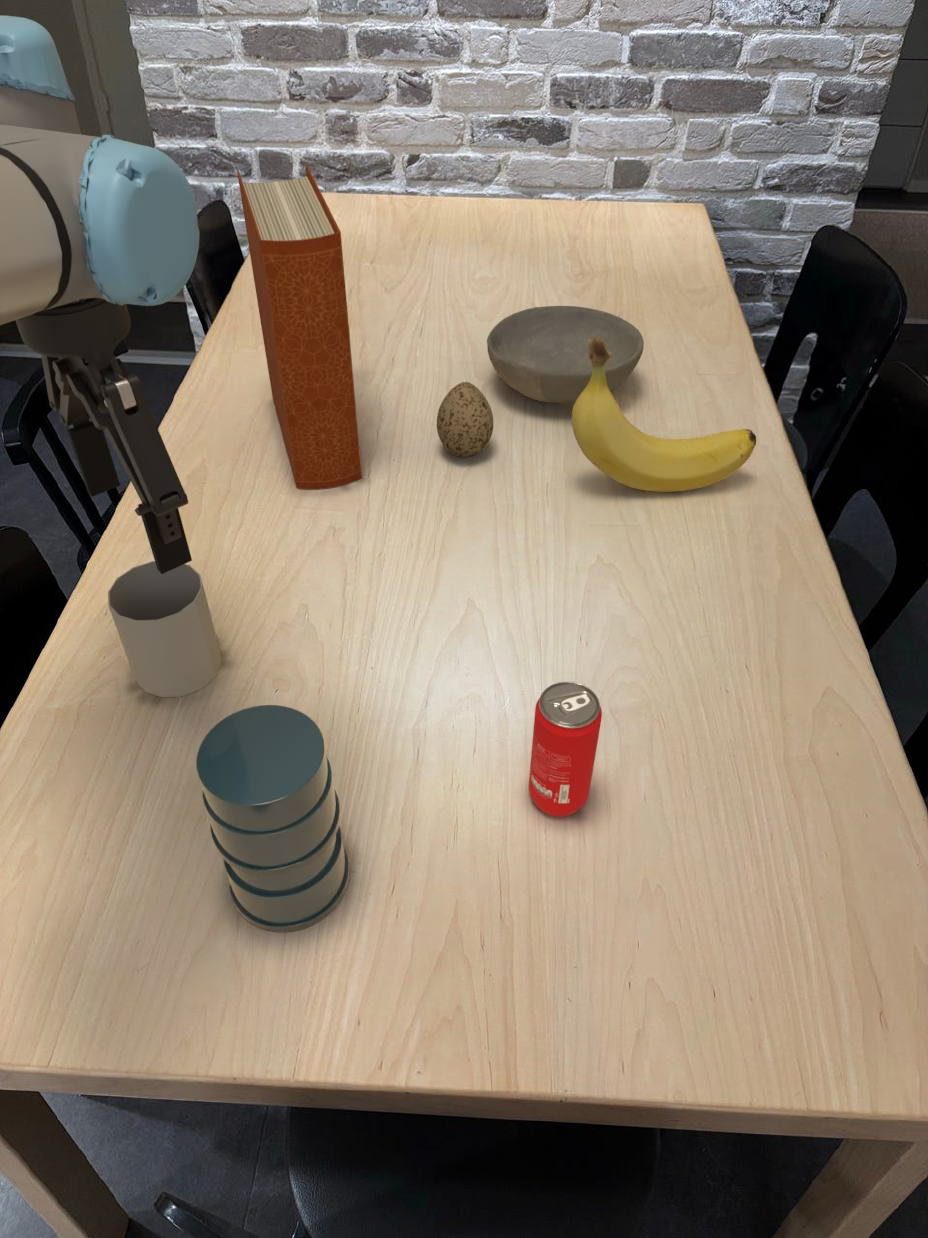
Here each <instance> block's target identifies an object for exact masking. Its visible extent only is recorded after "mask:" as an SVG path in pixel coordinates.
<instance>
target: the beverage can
mask: <svg viewBox="0 0 928 1238" xmlns="http://www.w3.org/2000/svg"><path fill="white" fill-rule="evenodd" d="M602 718H603V710H602V707H601V703H600V700H599V698H598V696H597V694H596V693H595V692H594V691H593V690H592V689H590V688H589V686H586V685H584V684H582V683H579V682H575V681H561V682H559V681H558V682H556V683H553V684H551V685H549V686H548V687H546V688H545V689H544V690H543V691H542V693H541V694H540V697H539V698H538V700H537V701H536V704H535V708H534V718H533V719H534V720H533V731H532V743H531V744H532V745H531V753H530V766H529V767H530V768H529V776H528V777H529V778H528V791H529V795H530V797H531V799H532V800H533V802H534V804H535V806H536V807H537V809H539V810H540V811H541V812H542V813H544V814H546V815H548V816H551V817H555V818H564V817H568V816H572V815H573V814H575V813H576V812H578V811H579V810H580V809H581V808H582V807H583V806H584V805H585V804H586V802H587V801H588V798H589V796H590V792H591V791H590V790H591V783H592V778H593V773H594V767H595V760H596V754H597V749H598V742H599V736H600V730H601V723H602Z"/></svg>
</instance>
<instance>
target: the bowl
mask: <svg viewBox="0 0 928 1238" xmlns="http://www.w3.org/2000/svg"><path fill="white" fill-rule="evenodd" d="M593 337H594V338H595V337H596V338H603V340H604V343H605V347H606V349H608V350H609V351H610V352H611V354H612V357H611V358H609V359H608V360H607V362H606V365H605V376H606V382H607V386H608V388H609V390H610V392H611V393H612V392H613V391H614V390H616V389H618V388H619V387H620V386H621V385H623V384H624V383H625V381H626V380H627V379H628V378H629V377H630V376H631V374H632V373H633V371H634V370H635V368H636V367H637V365H638V364H639V361H640V359H641V357H642V355H643V353H644V352H643V351H644V338H643V335H642V333H641V332H640V330H639V329H638V328H637V327H636V326H634V325H633V324H632V323H630V322H629V321H627V320H625V319H624V318H622V317H620V316H617V315H615V314H613V313H610V312H607V311H604V310H599V309H594V308H590V307H583V306H575V305H574V306H573V305H545V306H535V307H531V308H527V309H523V310H521V311H517V312H514V313H512V314H510V315H508V316H506V317H505V318H503V319H502V320H500V321H499V322H498V323H497V324H496V325H495V326H493V328H492V329H491V331H490V332H489V334H488V336H487V338H486V344H487V347H486V348H487V355H488V359H489V360H490V363H491V365H492V368H493V369H494V371H495V373H497V375H498V376H499V377H500V378H501V380H503V381H504V382H505V383H506V384H507V385H508V386H509V387H511V388H512V389H513V390H514V391H517V392H519V393H520V394H522V395H524V396H525V397H527V398H529V399H530V400H531V399H532V400H534V401H538V402H546V403H550V404H551V403H552V404H575V402H576V400H577V399H578V397H579V396H580V394H581V393H582V392H583V390H584V389H585V388H586V387H587V385H588V383H589V381H590V379H591V376H592V372H593V366H592V363H591V361H590V359H589V358H588V354H589V349H588V340H589V339H591V338H593Z"/></svg>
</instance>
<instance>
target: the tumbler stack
mask: <svg viewBox="0 0 928 1238" xmlns="http://www.w3.org/2000/svg"><path fill="white" fill-rule="evenodd" d="M195 760H196V761H195V763H196V764H195V765H196V766H195V767H196V773H197V777H198V779H199V782H200V785H201V788H202V789H201V791H202V801H203V805H204V808H205V811H206V814H207V817H208V820H209V826H210V827H209V828H210V829H209V830H210V834H211V839H212V842H213V844H214V847H215V850H216V851H217V853H218V854H219V856H220V857H221V858H222V862H223V865H224V868H225V872H226V876H227V879H228V888H229V892H230V896H231V899H232V902H233V904H234V906H235V908H236V910H237V911H238V913H239V914H240V915H241V916H242V917H243V919H245V920H246V921H247V922H248V923H250V924H251V925H253V926H255V927H257V928H260V929H262V930H265V931H268V932H269V931H270V932H276V933H289V932H296V931H299V930H304V929H306V928H309V927H311V926H314V925H315V924H317V923H319V922H320V921H322V920H324V919H325V918H326V917H327V916H329V915H330V914H331V913H332V912H333V911H334V910H335V909H336V907H338V905H339V904H340V902H341V901H342V899H343V897H344V895H345V894H346V892H347V888H348V885H349V881H350V865H349V864H350V863H349V858H348V854H347V851H346V849H345V847H344V842H343V836H342V830H341V827H340V823H341V805H340V800H339V795H338V793H337V791H336V789H335V783H334V777H333V771H332V767H331V763H330V761H329V758H328V756H327V751H326V747H325V740H324V736H323V733H322V731H321V729H320V727H319V726H318V724H316V722H315V721H314V720H313V719H312V718H311V717H310V716H308V715H307V714H305V713H304V712H302V711H300V710H298V709H296V708H292V707H289V706H286V705H277V704H263V705H256V706H250V707H247V708H243V709H241V710H238V711H236V712H233V713H231V714H229V715H228V716H226V717H225V718H223V719H221V720H220V721H218V722H217V723H216V724H215V725H214V726H213V727H212V728H211V729H210V730H209V731H208V733H207V734H206V735H205V736H204V738H203V739H202V741H201V743H200V744H199V748H198V751H197V754H196V759H195Z"/></svg>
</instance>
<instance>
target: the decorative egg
mask: <svg viewBox="0 0 928 1238" xmlns="http://www.w3.org/2000/svg"><path fill="white" fill-rule="evenodd" d="M436 432H437V435H438V438H439V440H440V443H441V444H442V445H443V447H444V448H445V449H446V450H447V451H448V452H449V453H450V454H453V455H455V456H457V457H461V458H469V457H474V456H475V455H478V454H479V453H481V452H483V450H484V449H485V448H486V447H487V446H488V445H489V443H490V441H491V439H492V435H493V432H494V416H493V411H492V407H491V405H490V404H489V401H488V399H487V397H486V396H485V395H484V393H483V392H482V391H481V390H480V389H479V388H478V387H477V386H476V385H474V384H473V383H471V382H468V381H462V382H459V383H458V384H456V385H455V386H454V387H452V388H451V389H450V390H449V391H448V393H447V394H446V395H445V396H444V398H443V399H442V401H441V402H440V405H439V407H438V411H437V416H436Z"/></svg>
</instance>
